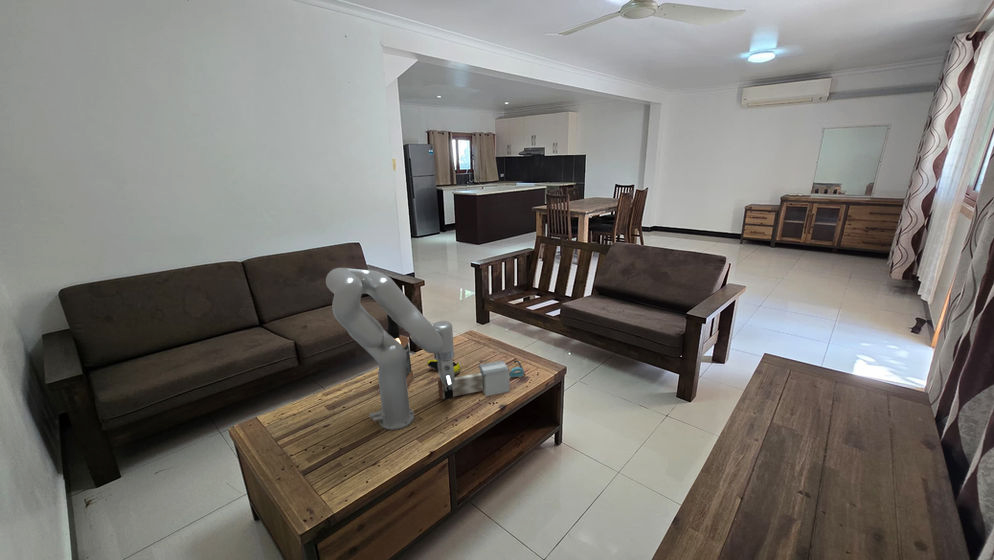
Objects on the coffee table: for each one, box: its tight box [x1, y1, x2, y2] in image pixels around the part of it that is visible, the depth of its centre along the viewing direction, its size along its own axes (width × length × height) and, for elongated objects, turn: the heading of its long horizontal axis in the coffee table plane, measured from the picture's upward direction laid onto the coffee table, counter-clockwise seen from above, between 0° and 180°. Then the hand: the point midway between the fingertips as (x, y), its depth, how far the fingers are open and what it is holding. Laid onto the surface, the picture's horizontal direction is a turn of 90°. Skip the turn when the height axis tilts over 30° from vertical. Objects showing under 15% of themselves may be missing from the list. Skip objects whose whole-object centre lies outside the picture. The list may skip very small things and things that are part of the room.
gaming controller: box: [426, 359, 461, 376], centre depth 178 cm, size 15×6×10 cm
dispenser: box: [478, 360, 511, 397], centre depth 163 cm, size 10×8×10 cm
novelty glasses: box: [509, 359, 525, 378], centre depth 177 cm, size 14×15×5 cm
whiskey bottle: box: [386, 313, 415, 389], centre depth 165 cm, size 10×10×32 cm
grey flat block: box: [437, 372, 483, 400], centre depth 159 cm, size 18×2×7 cm, turn 108°
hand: (446, 392), depth 158 cm, fingers open, 9 cm apart
